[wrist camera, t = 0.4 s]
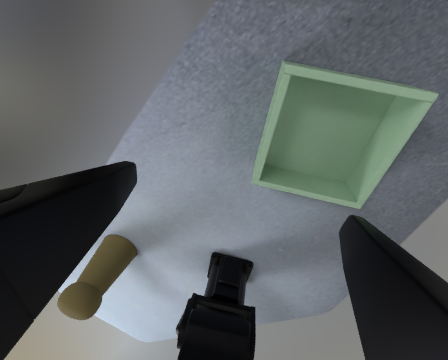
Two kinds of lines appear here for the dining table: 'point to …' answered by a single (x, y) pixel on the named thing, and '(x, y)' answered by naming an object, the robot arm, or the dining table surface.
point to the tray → (335, 132)
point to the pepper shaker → (97, 278)
